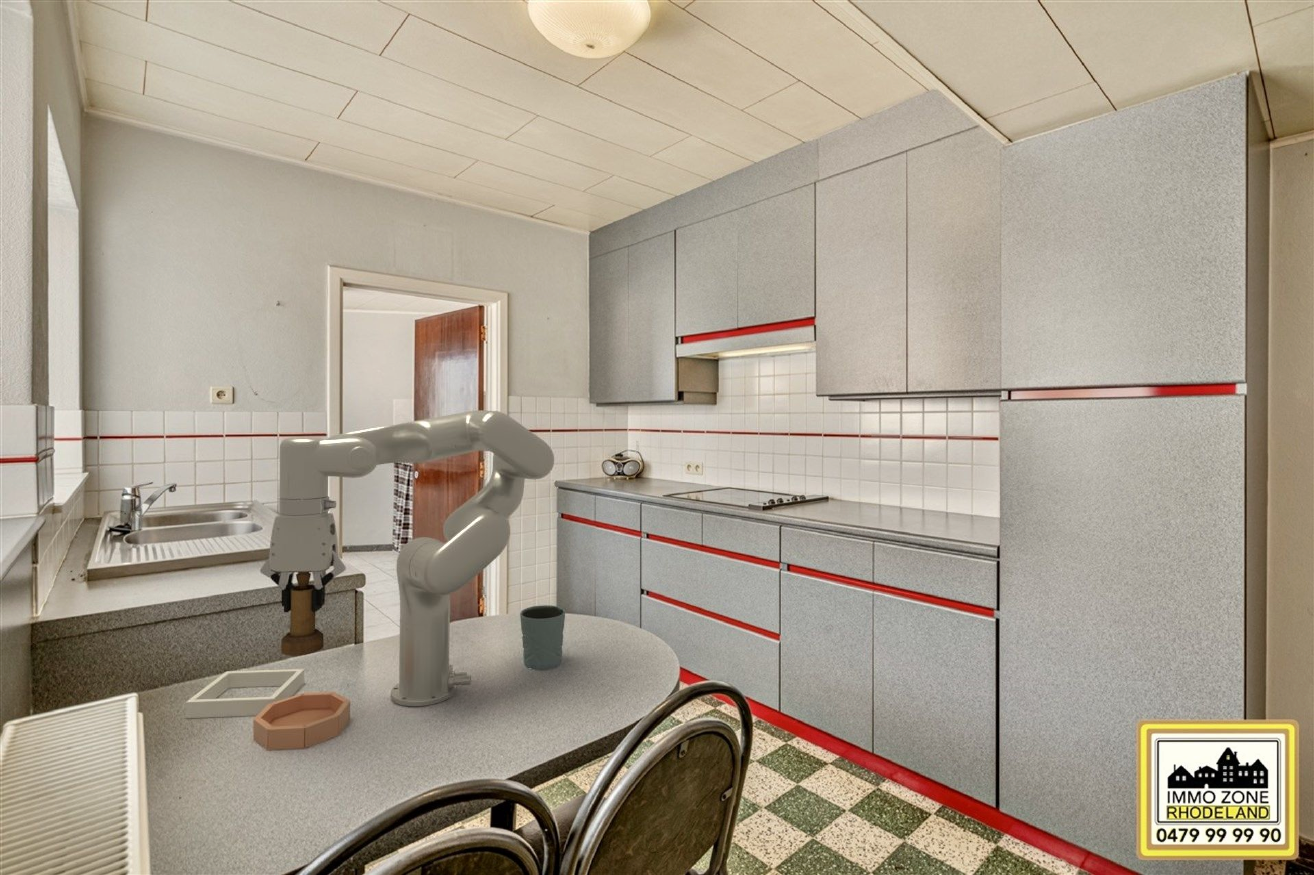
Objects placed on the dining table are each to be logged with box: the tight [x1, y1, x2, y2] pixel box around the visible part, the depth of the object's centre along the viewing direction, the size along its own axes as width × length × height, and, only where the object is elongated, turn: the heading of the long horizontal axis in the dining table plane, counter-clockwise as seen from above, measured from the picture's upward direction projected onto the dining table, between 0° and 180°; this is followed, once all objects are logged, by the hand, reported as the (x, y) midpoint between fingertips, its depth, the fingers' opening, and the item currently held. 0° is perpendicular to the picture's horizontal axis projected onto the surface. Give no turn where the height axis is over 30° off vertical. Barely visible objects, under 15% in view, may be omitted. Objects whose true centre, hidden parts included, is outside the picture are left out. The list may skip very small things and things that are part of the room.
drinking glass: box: [519, 604, 566, 671], centre depth 146 cm, size 10×10×12 cm
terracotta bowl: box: [252, 691, 351, 751], centre depth 114 cm, size 14×14×4 cm
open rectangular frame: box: [185, 668, 305, 719], centre depth 124 cm, size 15×14×3 cm
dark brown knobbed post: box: [280, 572, 324, 657], centre depth 113 cm, size 7×6×18 cm
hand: (303, 608), depth 113 cm, fingers closed on dark brown knobbed post, 3 cm apart
